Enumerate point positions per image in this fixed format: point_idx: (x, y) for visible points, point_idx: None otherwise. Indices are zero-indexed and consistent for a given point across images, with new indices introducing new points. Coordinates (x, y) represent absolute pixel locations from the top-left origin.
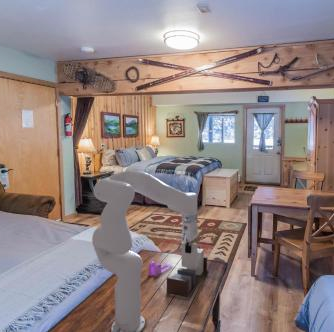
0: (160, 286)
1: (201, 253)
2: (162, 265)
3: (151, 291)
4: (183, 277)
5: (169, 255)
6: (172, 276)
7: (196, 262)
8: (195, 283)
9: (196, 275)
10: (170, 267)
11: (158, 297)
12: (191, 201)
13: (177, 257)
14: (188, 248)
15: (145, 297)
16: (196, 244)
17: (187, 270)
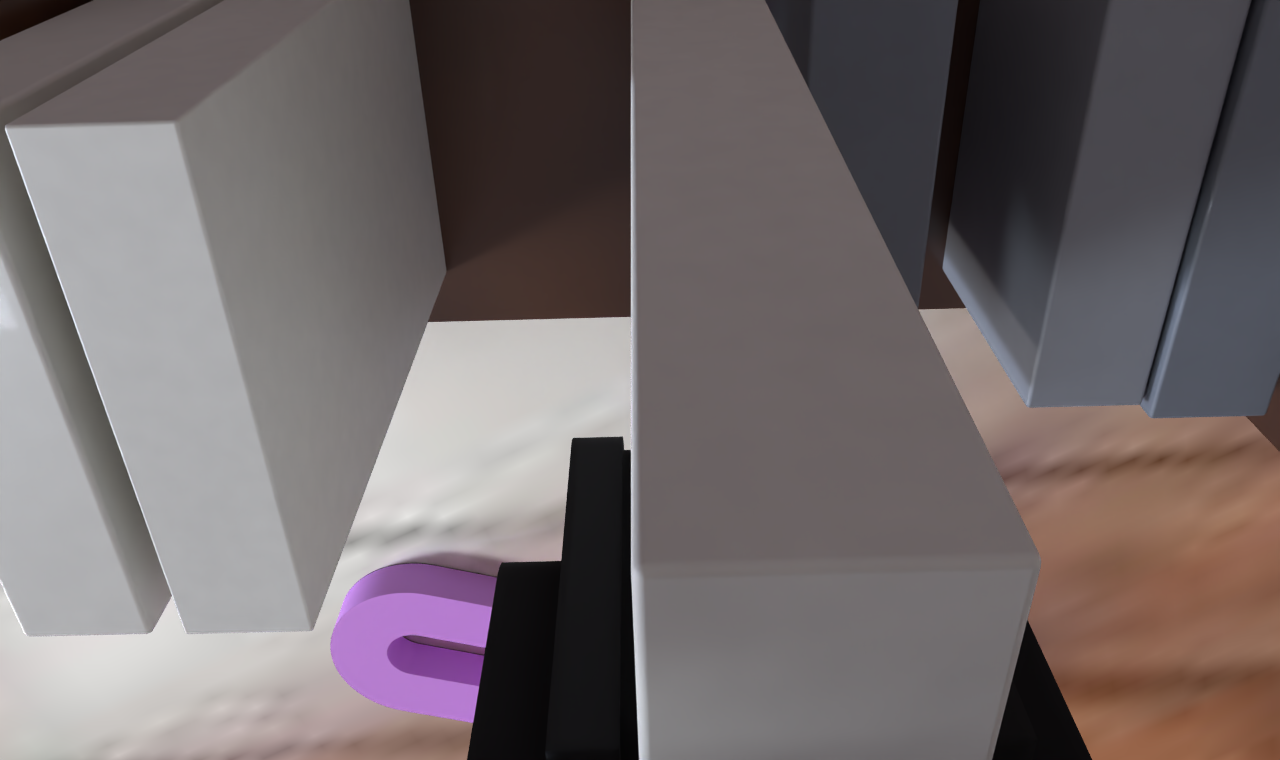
0: None
1: (117, 100)
2: (419, 706)
3: (1072, 524)
4: (1199, 153)
5: (44, 746)
6: (1190, 406)
7: (739, 35)
8: None
9: (439, 37)
10: (408, 590)
11: None
12: None
13: (12, 632)
14: (1055, 707)
15: (1227, 524)
16: (853, 521)
17: (867, 200)
